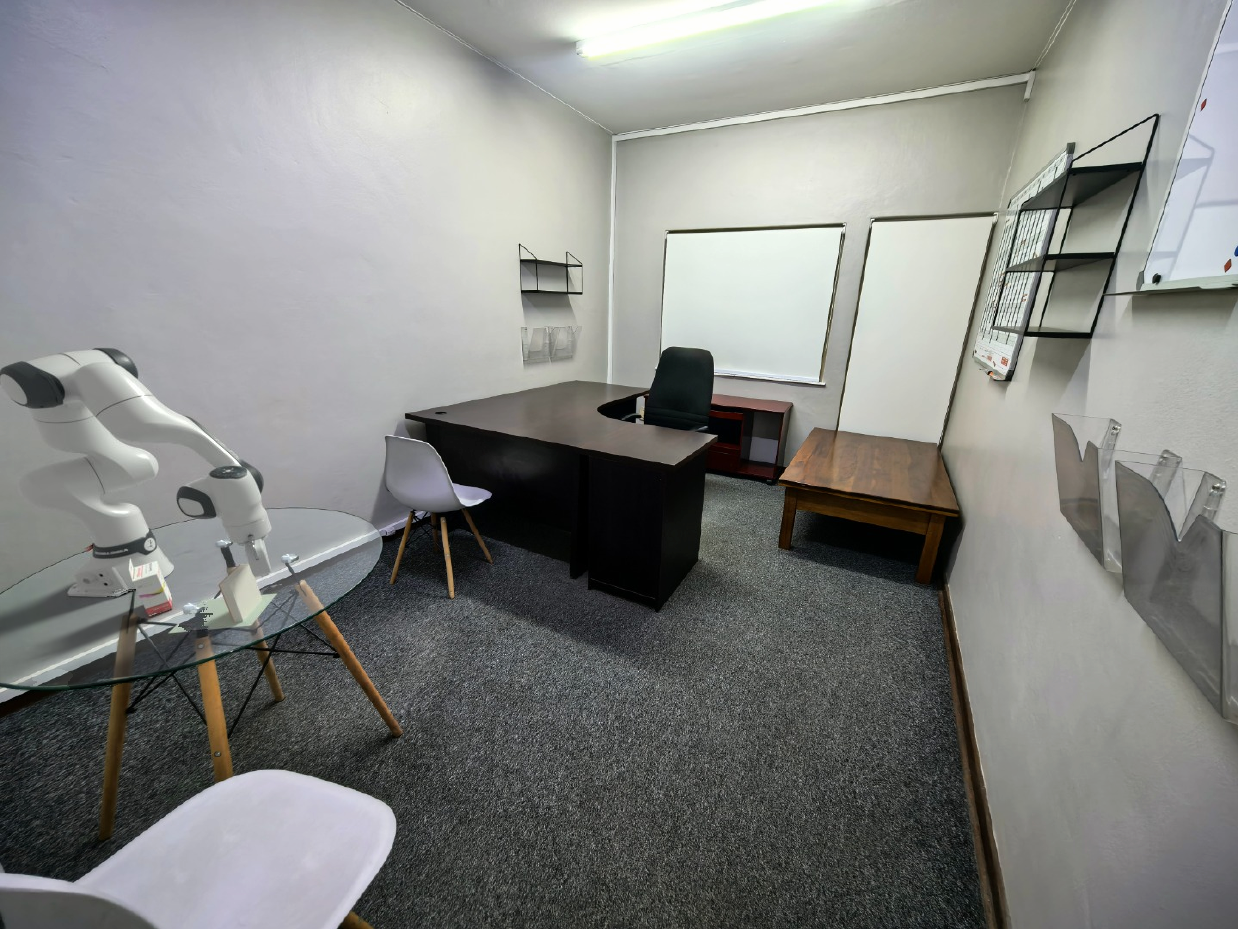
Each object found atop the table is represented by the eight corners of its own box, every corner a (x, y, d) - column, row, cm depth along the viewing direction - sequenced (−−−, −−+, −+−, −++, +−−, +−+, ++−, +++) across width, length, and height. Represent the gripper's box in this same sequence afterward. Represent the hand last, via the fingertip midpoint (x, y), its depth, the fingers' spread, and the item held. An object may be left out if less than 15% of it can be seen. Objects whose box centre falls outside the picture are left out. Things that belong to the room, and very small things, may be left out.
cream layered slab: (233, 622, 119) (218, 585, 114) (253, 599, 127) (239, 564, 123) (243, 621, 119) (228, 584, 115) (262, 599, 128) (249, 563, 123)
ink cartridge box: (174, 609, 124) (153, 564, 118) (148, 618, 121) (126, 572, 115) (172, 594, 129) (152, 551, 124) (148, 602, 126) (127, 558, 121)
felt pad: (168, 634, 115) (168, 633, 115) (203, 601, 127) (202, 599, 127) (251, 626, 118) (250, 625, 118) (277, 594, 130) (277, 593, 130)
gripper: (268, 540, 109) (284, 587, 114) (260, 509, 123) (274, 552, 129) (235, 550, 105) (253, 598, 111) (230, 517, 120) (246, 561, 125)
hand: (264, 573), depth 120 cm, fingers closed
